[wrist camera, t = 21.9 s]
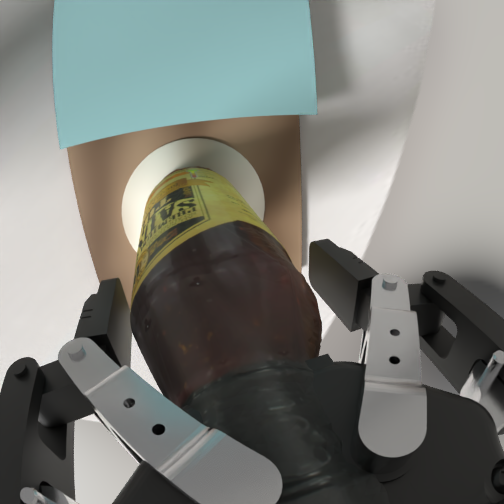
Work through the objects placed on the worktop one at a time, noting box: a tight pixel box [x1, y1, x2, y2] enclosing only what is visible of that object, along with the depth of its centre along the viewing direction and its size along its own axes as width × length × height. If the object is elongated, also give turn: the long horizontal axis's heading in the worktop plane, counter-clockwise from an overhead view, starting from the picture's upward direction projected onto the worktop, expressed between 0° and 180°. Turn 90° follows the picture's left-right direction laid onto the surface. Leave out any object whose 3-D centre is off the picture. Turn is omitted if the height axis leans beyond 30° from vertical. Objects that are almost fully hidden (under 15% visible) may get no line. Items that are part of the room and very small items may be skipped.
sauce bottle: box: [130, 166, 390, 504], centre depth 12 cm, size 7×6×20 cm
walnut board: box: [67, 115, 302, 309], centre depth 18 cm, size 16×26×1 cm, turn 4°
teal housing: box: [52, 0, 317, 149], centre depth 12 cm, size 13×13×5 cm
